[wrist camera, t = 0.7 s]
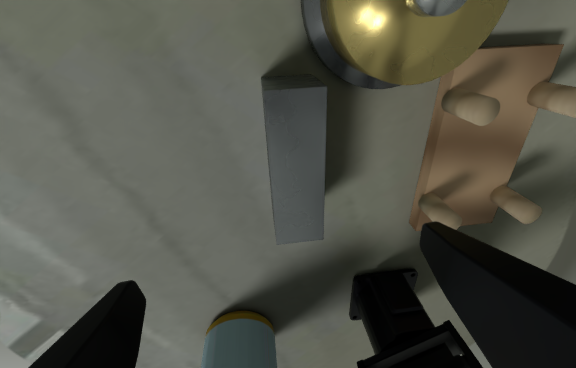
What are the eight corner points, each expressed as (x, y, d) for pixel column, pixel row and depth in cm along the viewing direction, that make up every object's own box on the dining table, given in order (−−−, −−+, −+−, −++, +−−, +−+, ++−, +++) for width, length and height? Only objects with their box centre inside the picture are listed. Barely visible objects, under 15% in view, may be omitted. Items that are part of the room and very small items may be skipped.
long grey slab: (310, 203, 23) (323, 239, 19) (272, 207, 22) (276, 244, 19) (310, 73, 18) (327, 86, 14) (260, 77, 18) (263, 90, 14)
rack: (486, 214, 25) (525, 245, 22) (404, 223, 25) (431, 256, 21) (551, 43, 18) (625, 46, 15) (441, 49, 18) (490, 54, 14)
